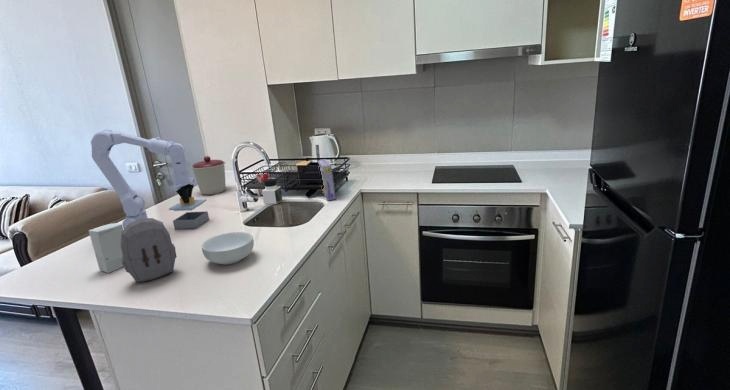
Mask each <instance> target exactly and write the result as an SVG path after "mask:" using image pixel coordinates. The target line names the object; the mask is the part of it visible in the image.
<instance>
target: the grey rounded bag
mask: <svg viewBox="0 0 730 390" xmlns="http://www.w3.org/2000/svg"><path fill="white" fill-rule="evenodd" d="M121 233H122V236H121V244H120V245H121V250H122V254H123V257H122V258H121V260H122V265H123V266H124V269H125V272H126V273H128V274H130V276H131V277H132V279H133V280H134V281H135V282H136V283H141V282H147V281H150V280H151V281H152V280H155V279H158V278H160V277H164V276H165V275H169V273H172V272H173V271H174V270H175V264H176V263H175V262H176V259H177V257H178V256H177V252H176V247H175V245H174V243H172V242H173V241H172V240H171V239H172V238H171V235H170V232H169V230H167V227H166V226H165V225H164V222H163V221H160V220H159V219H156V218H153V217H147V218H141V219H138V220H136V221H134V222H131V223H129V224H128V225H127V226H126V228H125V229H123V231H122V232H121Z"/></svg>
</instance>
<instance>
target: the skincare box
mask: <svg viewBox="0 0 730 390" xmlns="http://www.w3.org/2000/svg"><path fill="white" fill-rule="evenodd" d="M123 230H124V229H123V225H122V223H115V222H111V223H108V224H104V225H101V226H98V227H95V228H92V229H89V230H88V233H89V237H90V241H91V244H92V247H93V250H94V254H95V257H96V262H97V266H98V268H99V271H101V272H104V273H106V274H110V273H112V272H114V271H117V270H119V269H121V268H123V267H124V266H123V265H122V260H121V258H122V257H123V254H122V250H121V245H120V244H121V236H122V233H121V232H122V231H123ZM124 268H125V267H124Z"/></svg>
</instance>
